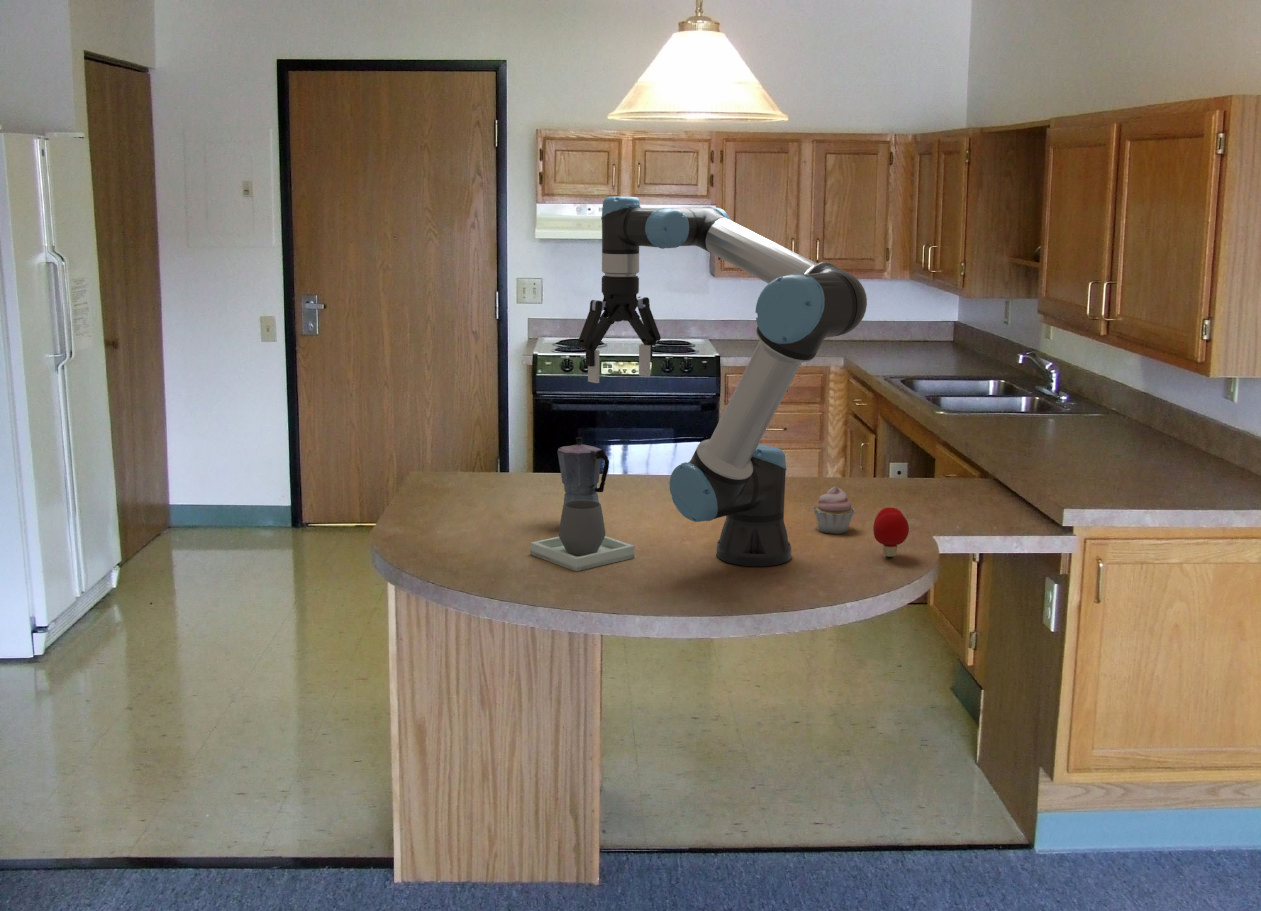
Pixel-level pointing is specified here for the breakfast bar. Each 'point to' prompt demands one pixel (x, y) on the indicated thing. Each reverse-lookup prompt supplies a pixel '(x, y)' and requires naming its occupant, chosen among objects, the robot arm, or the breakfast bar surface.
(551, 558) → the tray
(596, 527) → the cup
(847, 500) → the cupcake
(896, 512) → the light bulb
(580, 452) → the moka pot
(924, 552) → the breakfast bar surface
